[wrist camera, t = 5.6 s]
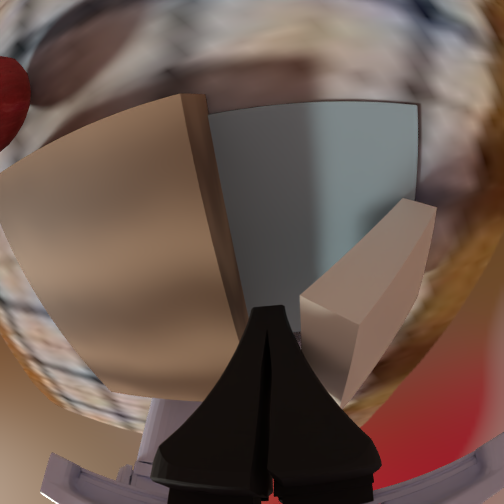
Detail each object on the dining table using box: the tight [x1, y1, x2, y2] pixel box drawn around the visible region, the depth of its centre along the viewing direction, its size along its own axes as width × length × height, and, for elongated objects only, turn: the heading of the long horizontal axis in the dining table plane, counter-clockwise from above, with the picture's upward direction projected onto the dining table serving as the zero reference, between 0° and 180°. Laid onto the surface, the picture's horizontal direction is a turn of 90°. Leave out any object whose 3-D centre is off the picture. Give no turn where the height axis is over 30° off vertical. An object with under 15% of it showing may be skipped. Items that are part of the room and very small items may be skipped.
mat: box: [208, 101, 418, 332], centre depth 14 cm, size 14×10×1 cm
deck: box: [0, 94, 249, 402], centre depth 14 cm, size 18×12×4 cm, turn 9°
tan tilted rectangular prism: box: [300, 198, 437, 409], centre depth 11 cm, size 6×9×2 cm
